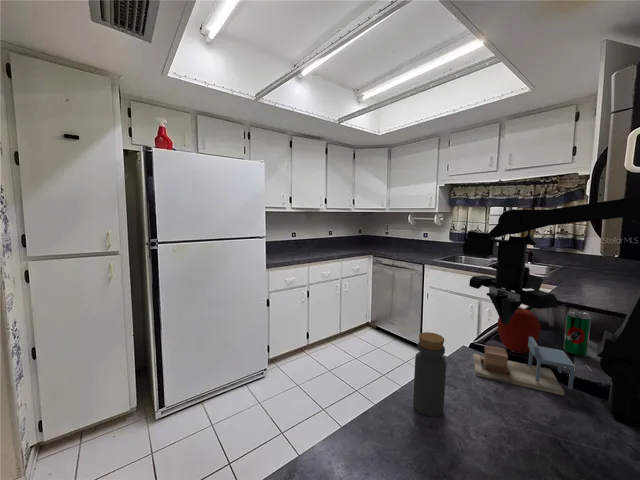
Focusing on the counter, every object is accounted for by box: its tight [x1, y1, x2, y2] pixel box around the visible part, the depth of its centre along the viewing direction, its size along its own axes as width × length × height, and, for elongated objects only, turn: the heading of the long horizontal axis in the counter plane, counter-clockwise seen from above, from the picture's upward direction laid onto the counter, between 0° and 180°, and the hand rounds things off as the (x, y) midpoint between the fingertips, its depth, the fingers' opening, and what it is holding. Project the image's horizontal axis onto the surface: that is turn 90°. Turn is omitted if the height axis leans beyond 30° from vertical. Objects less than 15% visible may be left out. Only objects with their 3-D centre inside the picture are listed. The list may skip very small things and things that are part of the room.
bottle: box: [412, 331, 447, 418], centre depth 57 cm, size 6×6×15 cm
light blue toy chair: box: [528, 337, 575, 391], centre depth 66 cm, size 8×7×8 cm
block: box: [483, 344, 509, 375], centre depth 71 cm, size 4×4×5 cm
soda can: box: [563, 309, 592, 357], centre depth 80 cm, size 5×5×12 cm
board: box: [472, 353, 565, 396], centre depth 70 cm, size 10×17×1 cm, turn 64°
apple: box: [497, 305, 542, 354], centre depth 81 cm, size 10×10×14 cm
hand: (505, 323), depth 70 cm, fingers closed
